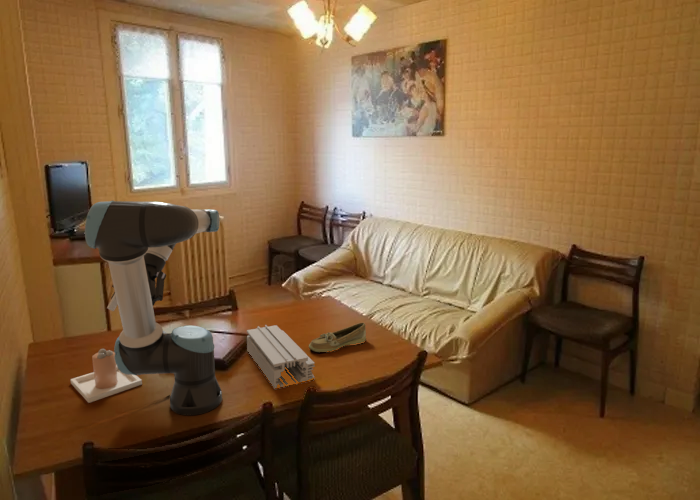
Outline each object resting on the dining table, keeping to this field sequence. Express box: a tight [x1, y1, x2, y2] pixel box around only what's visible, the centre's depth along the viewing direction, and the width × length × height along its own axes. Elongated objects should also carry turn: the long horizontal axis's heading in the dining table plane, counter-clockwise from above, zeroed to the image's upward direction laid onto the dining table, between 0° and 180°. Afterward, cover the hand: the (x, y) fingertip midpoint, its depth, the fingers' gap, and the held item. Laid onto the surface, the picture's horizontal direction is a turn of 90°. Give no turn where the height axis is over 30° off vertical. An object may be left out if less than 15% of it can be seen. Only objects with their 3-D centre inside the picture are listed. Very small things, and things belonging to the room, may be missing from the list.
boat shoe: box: [308, 322, 367, 353], centre depth 188 cm, size 10×24×8 cm, turn 128°
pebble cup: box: [91, 348, 118, 389], centre depth 153 cm, size 6×6×12 cm
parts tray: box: [70, 365, 143, 404], centre depth 154 cm, size 16×16×2 cm
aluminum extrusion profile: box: [246, 324, 316, 390], centre depth 171 cm, size 14×31×10 cm, turn 28°
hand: (125, 314), depth 156 cm, fingers open, 13 cm apart
